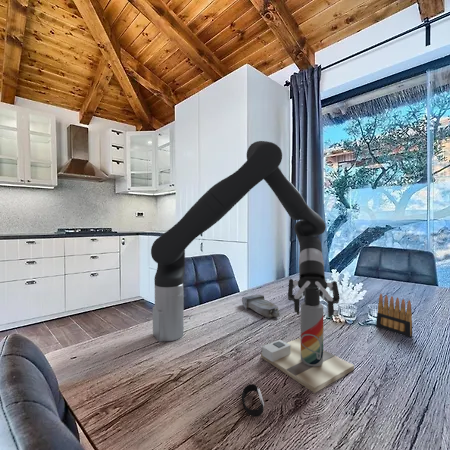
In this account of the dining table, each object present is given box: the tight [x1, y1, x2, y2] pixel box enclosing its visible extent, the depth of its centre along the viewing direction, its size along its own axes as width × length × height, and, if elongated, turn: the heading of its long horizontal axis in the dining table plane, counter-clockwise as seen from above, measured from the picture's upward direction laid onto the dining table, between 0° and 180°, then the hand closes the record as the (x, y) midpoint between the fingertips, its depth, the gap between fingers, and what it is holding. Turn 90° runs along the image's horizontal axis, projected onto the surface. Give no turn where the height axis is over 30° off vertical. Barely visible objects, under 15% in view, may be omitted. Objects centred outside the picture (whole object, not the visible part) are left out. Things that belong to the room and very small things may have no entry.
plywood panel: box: [260, 337, 355, 394], centre depth 73 cm, size 16×18×1 cm
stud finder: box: [261, 339, 291, 362], centre depth 75 cm, size 7×4×3 cm, turn 124°
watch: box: [241, 383, 265, 418], centre depth 57 cm, size 8×5×4 cm, turn 5°
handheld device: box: [241, 294, 280, 318], centre depth 111 cm, size 10×20×5 cm, turn 30°
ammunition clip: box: [375, 293, 413, 338], centre depth 92 cm, size 11×2×12 cm, turn 36°
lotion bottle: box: [300, 286, 324, 367], centre depth 71 cm, size 6×6×20 cm
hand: (313, 314), depth 75 cm, fingers open, 8 cm apart
